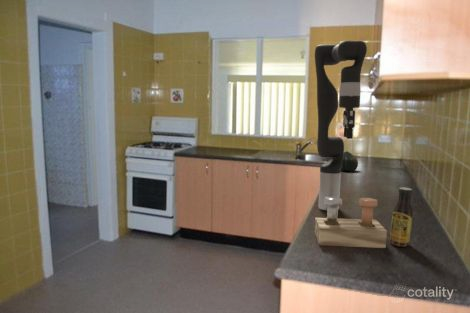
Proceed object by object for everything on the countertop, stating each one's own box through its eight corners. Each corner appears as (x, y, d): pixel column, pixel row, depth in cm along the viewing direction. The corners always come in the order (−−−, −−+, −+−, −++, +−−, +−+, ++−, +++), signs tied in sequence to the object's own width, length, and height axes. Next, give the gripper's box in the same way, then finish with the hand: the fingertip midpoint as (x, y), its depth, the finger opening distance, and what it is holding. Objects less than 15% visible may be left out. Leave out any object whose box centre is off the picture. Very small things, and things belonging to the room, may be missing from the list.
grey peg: (322, 217, 134) (323, 196, 133) (339, 218, 134) (340, 196, 133) (324, 222, 128) (325, 200, 127) (342, 223, 128) (343, 201, 127)
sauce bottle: (386, 244, 128) (390, 188, 126) (393, 239, 133) (398, 185, 130) (405, 249, 124) (410, 191, 121) (412, 244, 128) (417, 188, 125)
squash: (350, 166, 261) (356, 149, 267) (331, 164, 271) (337, 148, 277) (356, 177, 270) (362, 160, 276) (337, 175, 280) (344, 159, 286)
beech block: (314, 233, 138) (315, 217, 137) (375, 235, 137) (376, 219, 136) (319, 245, 126) (320, 228, 126) (385, 247, 125) (386, 230, 124)
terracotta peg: (356, 218, 133) (357, 197, 132) (373, 219, 133) (374, 198, 132) (360, 224, 127) (361, 201, 126) (378, 224, 127) (379, 202, 126)
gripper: (337, 96, 148) (336, 136, 150) (341, 94, 134) (339, 139, 136) (357, 96, 147) (355, 136, 149) (363, 94, 133) (361, 139, 135)
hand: (347, 137), depth 142 cm, fingers open, 8 cm apart
